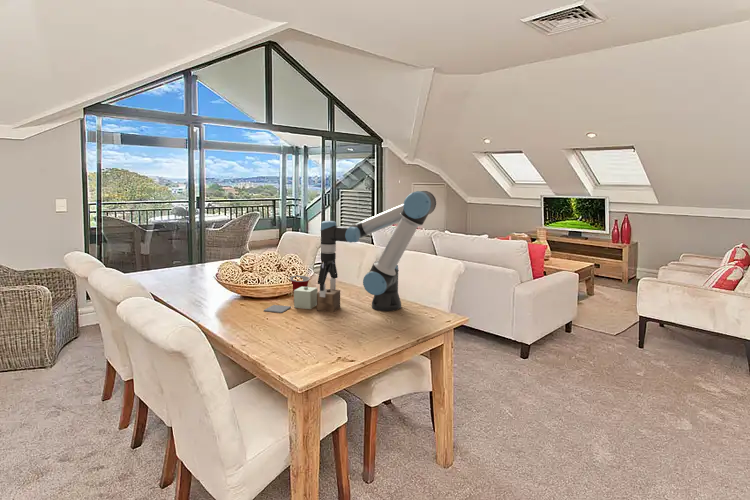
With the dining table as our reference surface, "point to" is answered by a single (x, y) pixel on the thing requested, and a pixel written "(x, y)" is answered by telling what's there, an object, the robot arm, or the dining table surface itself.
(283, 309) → the grey square plate
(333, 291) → the walnut cover
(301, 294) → the sage cover
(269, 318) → the dining table surface
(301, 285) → the plastic cup
